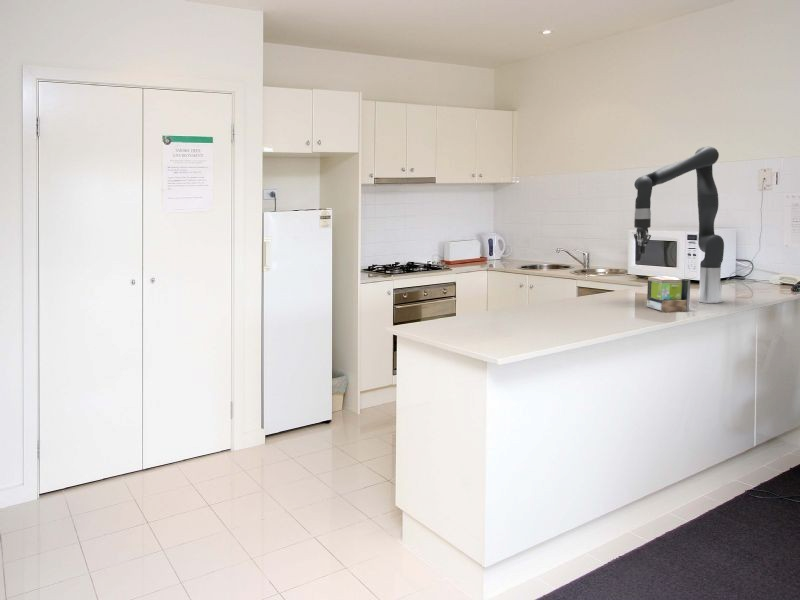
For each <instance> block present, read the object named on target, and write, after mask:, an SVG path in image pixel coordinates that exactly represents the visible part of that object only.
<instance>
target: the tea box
mask: <svg viewBox="0 0 800 600" xmlns="http://www.w3.org/2000/svg"><path fill="white" fill-rule="evenodd" d="M682 279H683V278H679V279H678V277H672V276H669V275H668V276H661V275H660V276H647V295H646V297H647V299H646V307H648V308H651V309H654V310H658V311H661V312H662V301H670V300H681V293H682Z"/></svg>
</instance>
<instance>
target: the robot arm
mask: <svg viewBox="0 0 800 600" xmlns="http://www.w3.org/2000/svg"><path fill="white" fill-rule="evenodd" d="M719 157H720V154H719V151H718V150H717V149H716V148H715V147H713V146H702V147H700V148H698V149H697V150H696V151H695V153H694V154H693V155H691V156H689V157H687V158H685V159H683V160H679V161H676V162H674V163H671V164H668V165H666V166H663V167H660V168H659V169H657V170H655V171H652V172H649V173H647V174H645V175H642V176H639V177H638V178H637V179H635V182H634V188H635V190H637V192H636V193H637V194H636V197H635V205H634V207H635V208H634V218H633V219H634V222H633V223H634V224H633V225H634V228H636V232H635V233H633V237H634V241H635V244H636V245H638V253H639V254H640V255H641V254H645V253H646V252H645V249H646V248H645V247H646V246H648V244H649V241H650V240H651V237H652V235H651V234H649V228H651V219H652V218H651V217H652V211H651V204H652V203H651V202H652V201H651V198H652V197H651V196H652V192H653V187H655V186H658V185H662V184H664V183H667V182H669V181H672V180H674V179H677V178H678V177H680V176H683V175H684V174H687V173H689V172H691V171H695V172H696V193H697V196H696V197H697V208H698V209H697V210H698V211H697V212H698V238H697V239H698V240H697V242H698V247H699V250H701V252H702V253H704V258H703V259H702V260H701V261H700V264H699V265H700V266H699V268H700V269H699V291H698V292H699V293H698V302H699V303H705V304H717V303H722V291H723V283H722V282H721V271H722V263H723V261H724V252H725V242H724V239H723V238H722V236H721V235H719V234H715V220H716V217H717V213H718V211H719V193H718V192H719V191H718V188H717V185H716V182H715V179H714V176H713V175H714V174H713V165H715V164H716V162H717V161H718V159H719Z"/></svg>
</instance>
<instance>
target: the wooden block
mask: <svg viewBox="0 0 800 600" xmlns="http://www.w3.org/2000/svg"><path fill="white" fill-rule="evenodd" d="M672 312H673V313H674V312H676V313H677V312H688V311H687V300H670V301H662V311H661V313H672Z"/></svg>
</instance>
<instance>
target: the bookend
mask: <svg viewBox="0 0 800 600" xmlns="http://www.w3.org/2000/svg"><path fill="white" fill-rule="evenodd" d="M677 278H678V277H677ZM678 279H680V278H678ZM681 279H682V293H681V300H687V311H686V312H690V298H691V296H690V295H691V280H690V279H686V278H685V279H684V278H681Z"/></svg>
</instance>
